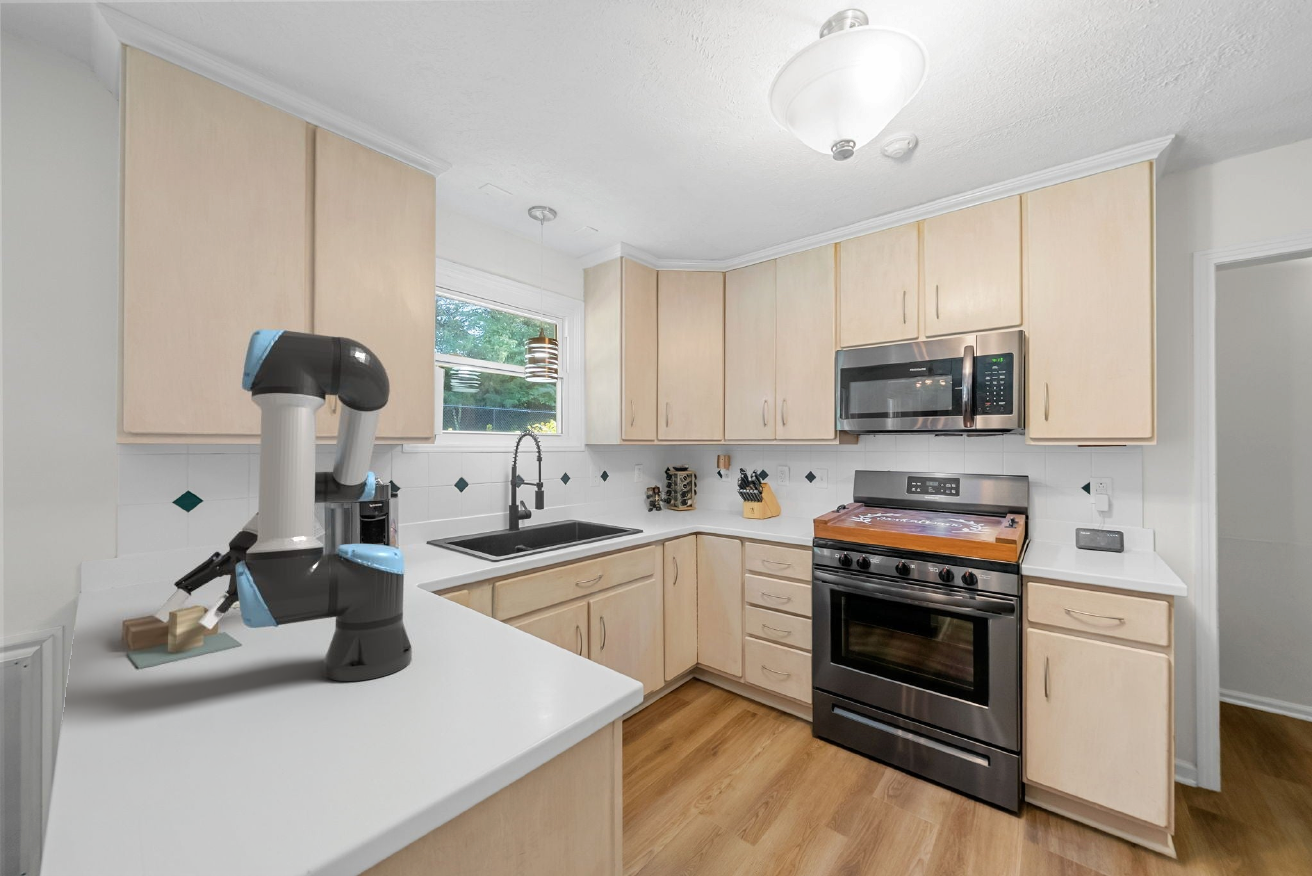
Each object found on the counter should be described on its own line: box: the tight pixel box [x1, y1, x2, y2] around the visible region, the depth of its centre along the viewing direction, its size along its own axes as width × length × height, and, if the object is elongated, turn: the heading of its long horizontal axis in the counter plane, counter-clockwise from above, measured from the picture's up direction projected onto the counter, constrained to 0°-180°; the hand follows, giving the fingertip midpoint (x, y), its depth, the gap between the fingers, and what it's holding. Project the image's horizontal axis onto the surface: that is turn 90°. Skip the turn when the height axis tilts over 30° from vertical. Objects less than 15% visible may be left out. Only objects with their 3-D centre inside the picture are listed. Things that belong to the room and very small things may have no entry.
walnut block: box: [121, 606, 219, 651], centre depth 120 cm, size 12×14×4 cm
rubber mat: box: [126, 631, 243, 670], centre depth 112 cm, size 12×16×1 cm
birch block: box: [168, 605, 205, 653], centre depth 112 cm, size 2×5×8 cm, turn 162°
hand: (181, 622), depth 112 cm, fingers open, 13 cm apart
